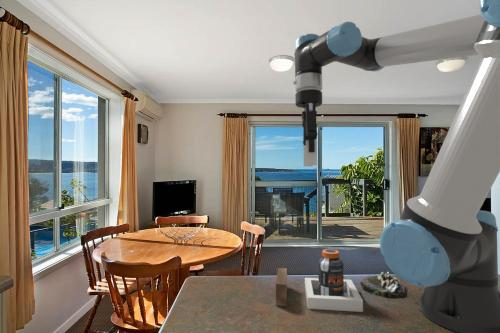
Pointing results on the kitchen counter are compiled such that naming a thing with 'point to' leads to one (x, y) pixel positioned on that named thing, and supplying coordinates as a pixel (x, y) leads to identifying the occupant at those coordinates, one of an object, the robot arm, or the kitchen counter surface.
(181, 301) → the kitchen counter surface
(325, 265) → the pill bottle
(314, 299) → the plate
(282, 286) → the door edge
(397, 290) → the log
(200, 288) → the kitchen counter surface
